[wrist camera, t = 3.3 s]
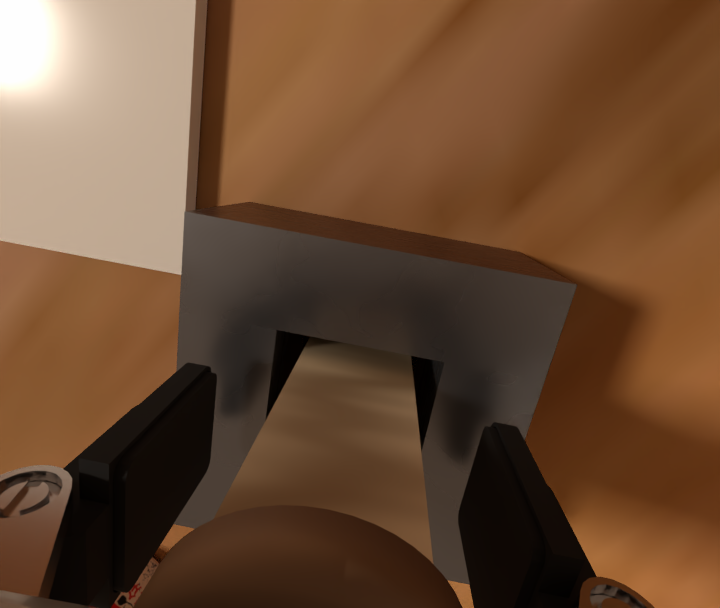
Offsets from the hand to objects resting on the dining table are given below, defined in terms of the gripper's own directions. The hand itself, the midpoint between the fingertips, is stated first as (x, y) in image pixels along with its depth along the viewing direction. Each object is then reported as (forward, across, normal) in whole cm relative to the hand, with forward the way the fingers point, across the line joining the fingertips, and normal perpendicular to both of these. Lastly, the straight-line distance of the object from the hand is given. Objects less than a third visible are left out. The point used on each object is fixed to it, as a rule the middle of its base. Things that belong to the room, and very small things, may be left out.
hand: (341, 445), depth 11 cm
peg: (+6, 0, 0) cm, 6 cm away
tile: (+6, +12, -7) cm, 15 cm away
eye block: (+6, 0, 0) cm, 6 cm away
